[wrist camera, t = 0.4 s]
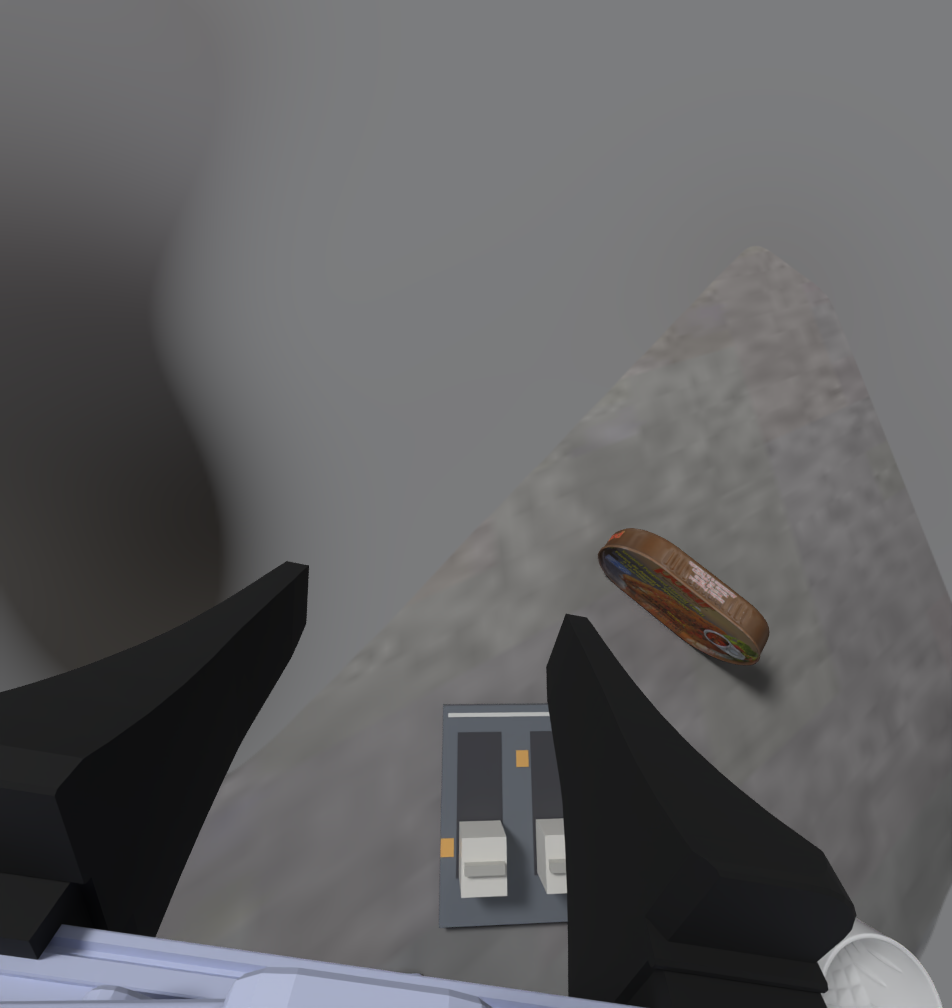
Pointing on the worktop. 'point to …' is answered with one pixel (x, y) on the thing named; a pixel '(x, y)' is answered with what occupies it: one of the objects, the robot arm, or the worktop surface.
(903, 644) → the worktop surface
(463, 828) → the light grey block
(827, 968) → the white cup
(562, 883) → the tab
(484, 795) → the switch bank
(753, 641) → the tin
